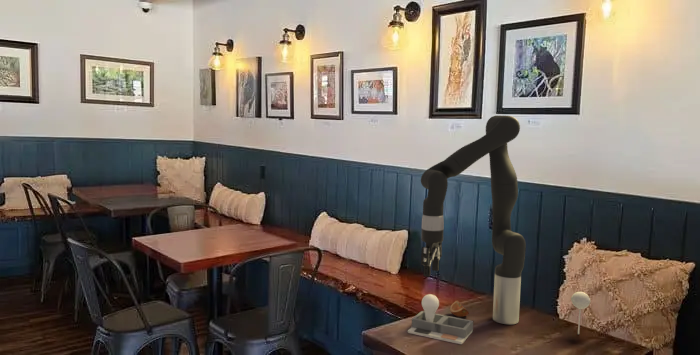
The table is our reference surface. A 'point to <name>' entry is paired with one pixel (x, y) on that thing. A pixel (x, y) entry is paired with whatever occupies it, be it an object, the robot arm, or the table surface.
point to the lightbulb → (430, 306)
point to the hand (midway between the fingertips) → (431, 273)
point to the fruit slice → (458, 309)
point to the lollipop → (580, 303)
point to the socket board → (442, 327)
